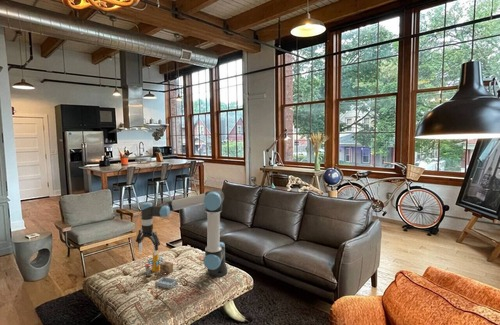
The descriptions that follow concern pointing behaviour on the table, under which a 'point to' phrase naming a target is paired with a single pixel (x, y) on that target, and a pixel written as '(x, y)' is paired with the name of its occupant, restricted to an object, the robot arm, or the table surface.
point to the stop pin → (148, 270)
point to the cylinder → (155, 262)
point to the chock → (166, 267)
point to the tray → (166, 282)
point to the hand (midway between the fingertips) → (148, 253)
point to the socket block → (148, 278)
